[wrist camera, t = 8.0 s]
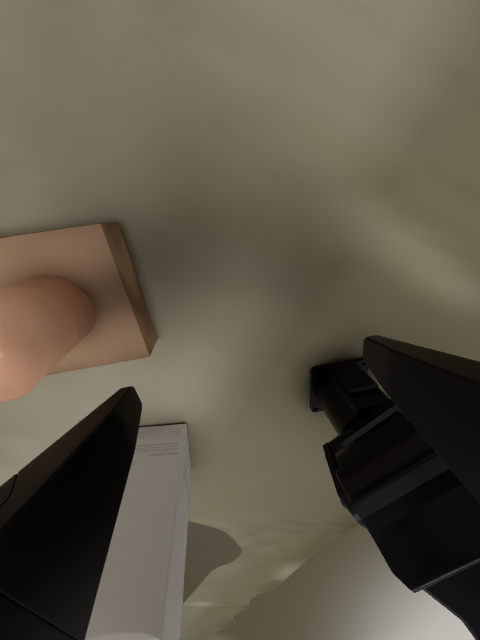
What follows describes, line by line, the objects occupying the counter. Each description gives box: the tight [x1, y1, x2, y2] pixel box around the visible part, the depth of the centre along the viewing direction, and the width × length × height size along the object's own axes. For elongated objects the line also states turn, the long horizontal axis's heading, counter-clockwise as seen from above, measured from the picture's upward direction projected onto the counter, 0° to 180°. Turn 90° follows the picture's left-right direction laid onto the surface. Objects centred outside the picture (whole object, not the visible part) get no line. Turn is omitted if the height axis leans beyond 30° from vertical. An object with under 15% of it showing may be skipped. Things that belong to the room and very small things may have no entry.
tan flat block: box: [0, 222, 157, 375], centre depth 17 cm, size 10×10×3 cm
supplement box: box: [85, 424, 191, 640], centre depth 20 cm, size 9×9×15 cm
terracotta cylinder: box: [0, 275, 96, 402], centre depth 13 cm, size 5×5×6 cm
